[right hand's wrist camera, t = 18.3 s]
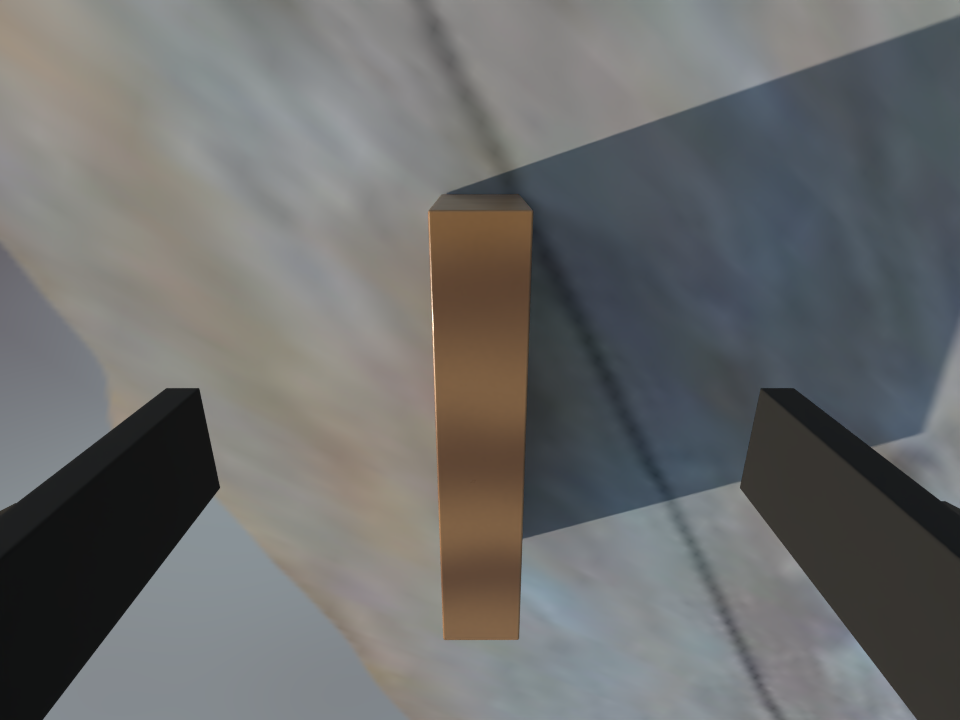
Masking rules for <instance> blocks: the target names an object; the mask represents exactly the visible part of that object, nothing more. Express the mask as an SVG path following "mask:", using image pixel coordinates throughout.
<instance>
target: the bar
mask: <svg viewBox="0 0 960 720" xmlns="http://www.w3.org/2000/svg"><path fill="white" fill-rule="evenodd" d="M428 224H429V251H430V279H431V307H432V335H433V363H434V391H435V418H436V446H437V474H438V502H439V530H440V557H441V585H442V613H443V638H444V640H518V639H519V625H520V595H521V565H522V535H523V505H524V475H525V445H526V415H527V385H528V355H529V325H530V295H531V265H532V235H533V210H532V209H531V208H530V207H529V205H528V204H527V203H526V202H525V201H524V200H523V198H522V197H521V196H520V195H519V194H442V195H441V196H440V197H439V199H438V200H437V201H436V202H435V203H434V205H433V206H432V207H431V208H430V210H429V211H428Z"/></svg>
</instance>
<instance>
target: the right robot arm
mask: <svg viewBox="0 0 960 720" xmlns="http://www.w3.org/2000/svg"><path fill="white" fill-rule="evenodd" d="M219 489H220V485H219V481H218V476H217V471H216V466H215V461H214V457H213V452H212V447H211V442H210V438H209V433H208V428H207V423H206V419H205V414H204V409H203V404H202V400H201V395H200V390H199V388H166V389H165V390H164V391H162V392H161V393H160V394H158V395H157V396H156V397H154V398H153V399H152V400H150V401H149V402H148V403H147V404H145V405H144V406H143V407H141V408H140V409H139V410H137V411H136V412H135V413H134V414H132V415H131V416H130V417H128V418H127V419H126V420H124V421H123V422H122V423H120V424H119V425H118V426H117V427H115V428H114V429H113V430H111V431H110V432H109V433H108V434H106V435H105V436H104V437H102V438H101V439H100V440H98V441H97V442H96V443H94V444H93V445H92V446H91V447H89V448H88V449H87V450H85V451H84V452H83V453H81V454H80V455H79V456H77V457H76V458H75V459H74V460H72V461H71V462H70V463H68V464H67V465H66V466H64V467H63V468H62V469H61V470H59V471H58V472H57V473H55V474H54V475H53V476H51V477H50V478H49V479H47V480H46V481H45V482H44V483H42V484H41V485H40V486H38V487H37V488H36V489H34V490H33V491H32V492H31V493H29V494H28V495H27V496H25V497H24V498H23V499H21V500H20V501H19V502H18V503H15V504H13V505H11V506H9V507H7V508H5V509H3V510H1V511H0V720H43V719H44V717H45V716H46V715H47V713H48V712H49V711H50V710H51V708H52V707H53V706H54V704H55V703H56V702H57V700H58V699H59V698H60V696H61V695H62V694H63V693H64V691H65V690H66V689H67V687H68V686H69V685H70V683H71V682H72V681H73V679H74V678H75V677H76V676H77V674H78V673H79V672H80V670H81V669H82V668H83V666H84V665H85V664H86V662H87V661H88V660H89V659H90V657H91V656H92V655H93V653H94V652H95V651H96V649H97V648H98V647H99V645H100V644H101V643H102V642H103V640H104V639H105V638H106V636H107V635H108V634H109V632H110V631H111V630H112V628H113V627H114V626H115V625H116V623H117V622H118V621H119V619H120V618H121V617H122V615H123V614H124V613H125V611H126V610H127V609H128V608H129V606H130V605H131V604H132V602H133V601H134V600H135V598H136V597H137V596H138V594H139V593H140V592H141V591H142V589H143V588H144V587H145V585H146V584H147V583H148V581H149V580H150V579H151V577H152V576H153V575H154V574H155V572H156V571H157V570H158V568H159V567H160V566H161V564H162V563H163V562H164V560H165V559H166V558H167V557H168V555H169V554H170V553H171V551H172V550H173V549H174V547H175V546H176V545H177V543H178V542H179V541H180V540H181V538H182V537H183V536H184V534H185V533H186V532H187V530H188V529H189V528H190V526H191V525H192V524H193V523H194V521H195V520H196V519H197V517H198V516H199V515H200V513H201V512H202V511H203V509H204V508H205V507H206V506H207V504H208V503H209V502H210V500H211V499H212V498H213V496H214V495H215V494H216V492H217V491H218V490H219ZM740 489H741V490H742V491H743V492H744V494H745V495H746V496H747V498H748V499H749V500H750V502H751V503H752V504H753V506H754V507H755V508H756V509H757V511H758V512H759V513H760V515H761V516H762V517H763V519H764V520H765V521H766V523H767V524H768V525H769V526H770V528H771V529H772V530H773V532H774V533H775V534H776V536H777V537H778V538H779V540H780V541H781V542H782V543H783V545H784V546H785V547H786V549H787V550H788V551H789V553H790V554H791V555H792V557H793V558H794V559H795V560H796V562H797V563H798V564H799V566H800V567H801V568H802V570H803V571H804V572H805V574H806V575H807V576H808V577H809V579H810V580H811V581H812V583H813V584H814V585H815V587H816V588H817V589H818V591H819V592H820V593H821V594H822V596H823V597H824V598H825V600H826V601H827V602H828V604H829V605H830V606H831V608H832V609H833V610H834V611H835V613H836V614H837V615H838V617H839V618H840V619H841V621H842V622H843V623H844V625H845V626H846V627H847V628H848V630H849V631H850V632H851V634H852V635H853V636H854V638H855V639H856V640H857V642H858V643H859V644H860V645H861V647H862V648H863V649H864V651H865V652H866V653H867V655H868V656H869V657H870V659H871V660H872V661H873V662H874V664H875V665H876V666H877V668H878V669H879V670H880V672H881V673H882V674H883V676H884V677H885V678H886V679H887V681H888V682H889V683H890V685H891V686H892V687H893V689H894V690H895V691H896V693H897V694H898V695H899V696H900V698H901V699H902V700H903V702H904V703H905V704H906V706H907V707H908V708H909V710H910V711H911V712H912V713H913V715H914V716H915V717H916V719H917V720H960V509H959V508H957V507H955V506H953V505H951V504H949V503H948V502H946V501H940V500H939V499H937V498H936V497H935V496H933V495H932V494H931V493H929V492H928V491H927V490H926V489H924V488H923V487H922V486H920V485H919V484H918V483H916V482H915V481H914V480H913V479H911V478H910V477H909V476H907V475H906V474H905V473H903V472H902V471H901V470H899V469H898V468H897V467H896V466H894V465H893V464H892V463H890V462H889V461H888V460H886V459H885V458H884V457H883V456H881V455H880V454H879V453H877V452H876V451H875V450H873V449H872V448H871V447H869V446H868V445H867V444H866V443H864V442H863V441H862V440H860V439H859V438H858V437H856V436H855V435H854V434H853V433H851V432H850V431H849V430H847V429H846V428H845V427H843V426H842V425H841V424H840V423H838V422H837V421H836V420H834V419H833V418H832V417H830V416H829V415H828V414H826V413H825V412H824V411H823V410H821V409H820V408H819V407H817V406H816V405H815V404H813V403H812V402H811V401H810V400H808V399H807V398H806V397H804V396H803V395H802V394H800V393H799V392H798V391H796V390H795V389H794V388H761V390H760V395H759V399H758V404H757V409H756V414H755V419H754V423H753V428H752V433H751V438H750V442H749V447H748V452H747V457H746V461H745V466H744V471H743V476H742V480H741V485H740Z"/></svg>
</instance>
